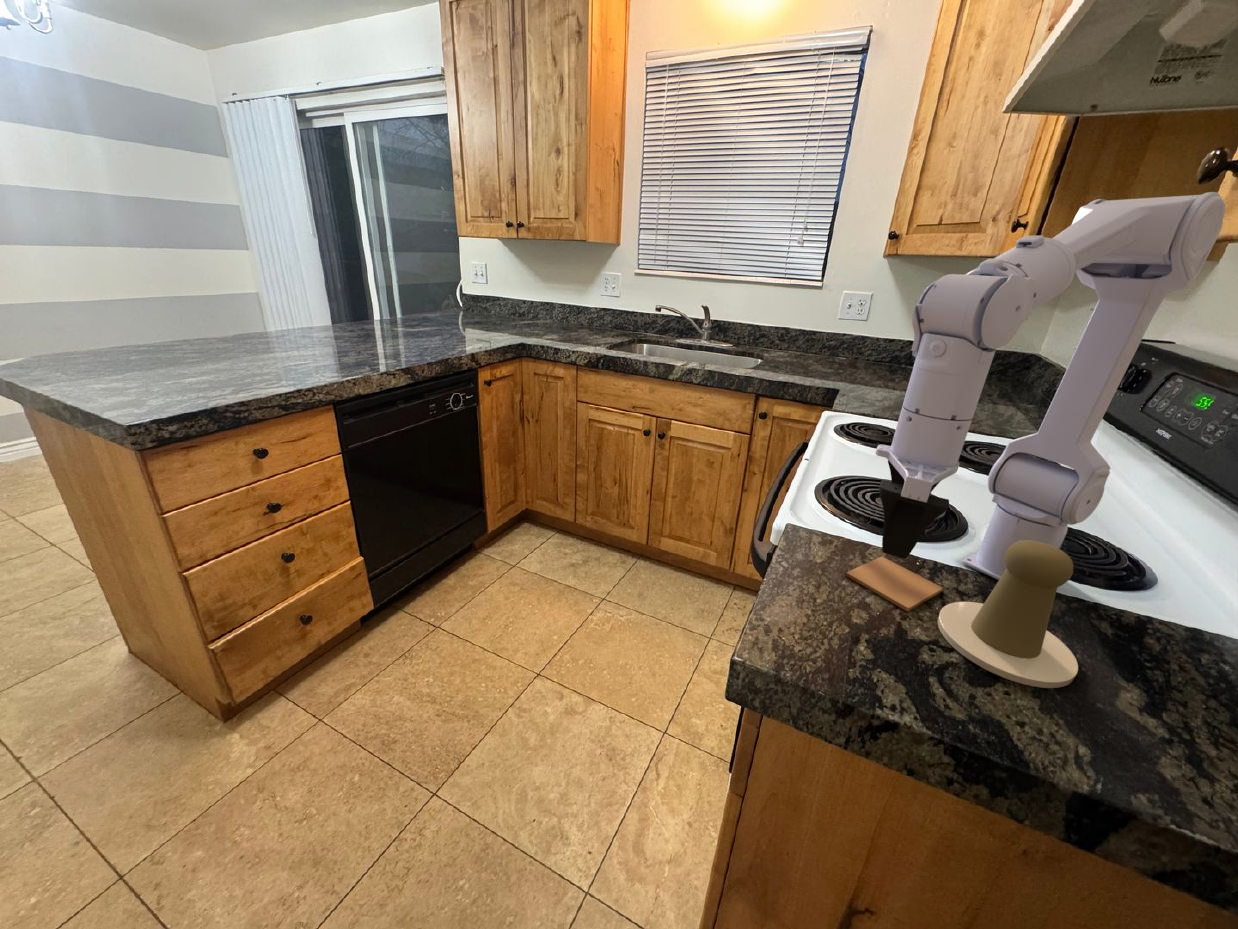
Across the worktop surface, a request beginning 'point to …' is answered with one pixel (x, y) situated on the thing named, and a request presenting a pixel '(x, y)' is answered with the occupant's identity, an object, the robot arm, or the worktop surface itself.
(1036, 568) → the pepper shaker
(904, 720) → the worktop surface
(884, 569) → the cork trivet
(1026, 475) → the robot arm
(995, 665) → the plate
